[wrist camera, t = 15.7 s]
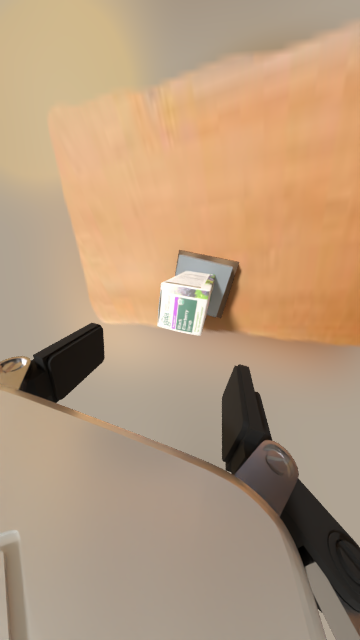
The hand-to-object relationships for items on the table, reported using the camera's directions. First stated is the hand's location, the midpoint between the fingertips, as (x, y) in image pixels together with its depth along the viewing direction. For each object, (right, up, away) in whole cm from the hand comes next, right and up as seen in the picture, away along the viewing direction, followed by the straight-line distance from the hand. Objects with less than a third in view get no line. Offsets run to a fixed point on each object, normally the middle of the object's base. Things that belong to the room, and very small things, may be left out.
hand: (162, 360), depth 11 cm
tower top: (+6, +10, +23) cm, 26 cm away
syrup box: (+5, +9, +20) cm, 23 cm away
